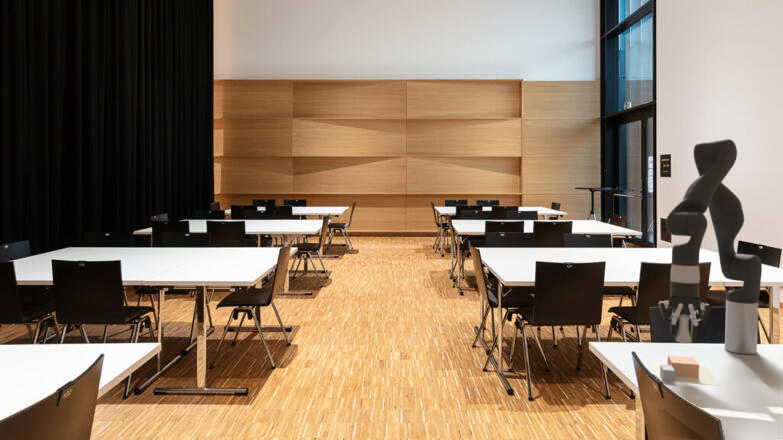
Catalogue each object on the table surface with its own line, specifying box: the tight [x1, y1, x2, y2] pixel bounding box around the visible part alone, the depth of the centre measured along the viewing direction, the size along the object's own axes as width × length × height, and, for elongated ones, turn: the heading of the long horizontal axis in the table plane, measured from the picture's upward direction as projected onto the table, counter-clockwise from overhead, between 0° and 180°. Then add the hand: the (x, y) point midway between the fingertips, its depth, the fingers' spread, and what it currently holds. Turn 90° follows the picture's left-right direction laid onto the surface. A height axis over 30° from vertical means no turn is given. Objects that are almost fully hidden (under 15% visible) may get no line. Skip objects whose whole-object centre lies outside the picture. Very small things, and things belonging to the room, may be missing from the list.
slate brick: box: [660, 364, 675, 382], centre depth 154 cm, size 5×3×3 cm, turn 162°
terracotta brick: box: [667, 354, 700, 378], centre depth 158 cm, size 7×7×4 cm
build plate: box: [648, 362, 722, 387], centre depth 158 cm, size 16×16×1 cm
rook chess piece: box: [674, 314, 693, 344], centre depth 157 cm, size 4×4×8 cm
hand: (683, 336), depth 157 cm, fingers closed on rook chess piece, 4 cm apart
